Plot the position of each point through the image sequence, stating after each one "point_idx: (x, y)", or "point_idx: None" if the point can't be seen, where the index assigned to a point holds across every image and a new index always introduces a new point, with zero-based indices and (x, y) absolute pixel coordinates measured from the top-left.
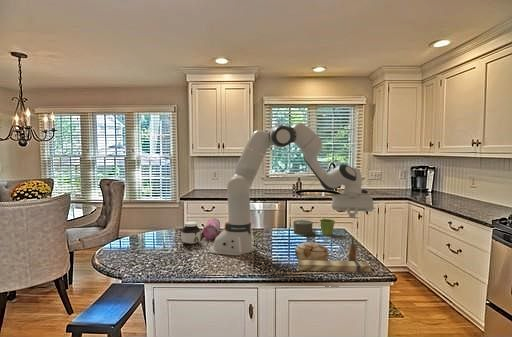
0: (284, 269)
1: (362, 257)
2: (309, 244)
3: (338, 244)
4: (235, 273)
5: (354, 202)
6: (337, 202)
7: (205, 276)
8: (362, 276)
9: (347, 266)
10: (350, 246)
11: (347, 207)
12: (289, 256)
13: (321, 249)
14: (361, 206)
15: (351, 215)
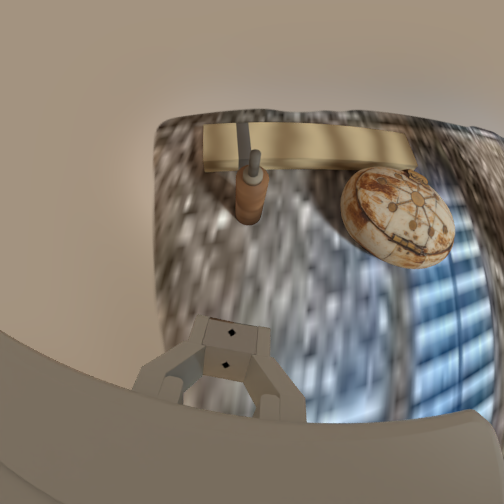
0: (425, 150)
1: (194, 281)
2: (423, 192)
3: None
4: (477, 140)
5: (154, 498)
6: (465, 470)
7: (494, 135)
8: (237, 110)
9: (277, 123)
10: (263, 170)
11: (304, 423)
12: None
13: (376, 171)
14: (59, 375)
15: (241, 324)
